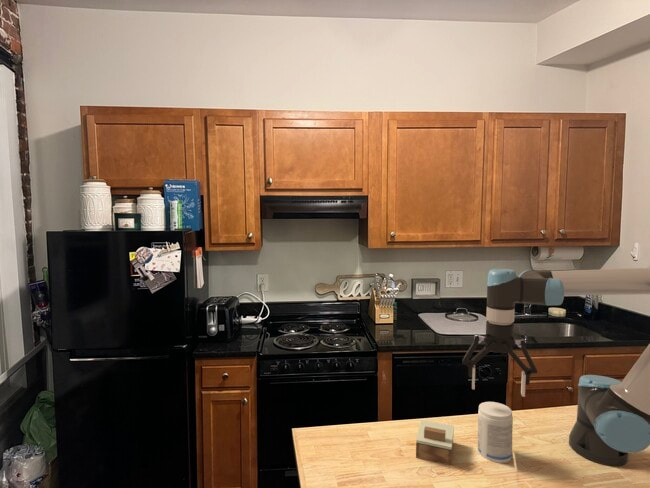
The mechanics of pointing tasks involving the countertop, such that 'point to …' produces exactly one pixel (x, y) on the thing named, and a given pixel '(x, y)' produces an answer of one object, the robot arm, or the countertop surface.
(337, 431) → the countertop surface
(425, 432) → the lid
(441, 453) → the box
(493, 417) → the supplement tub
